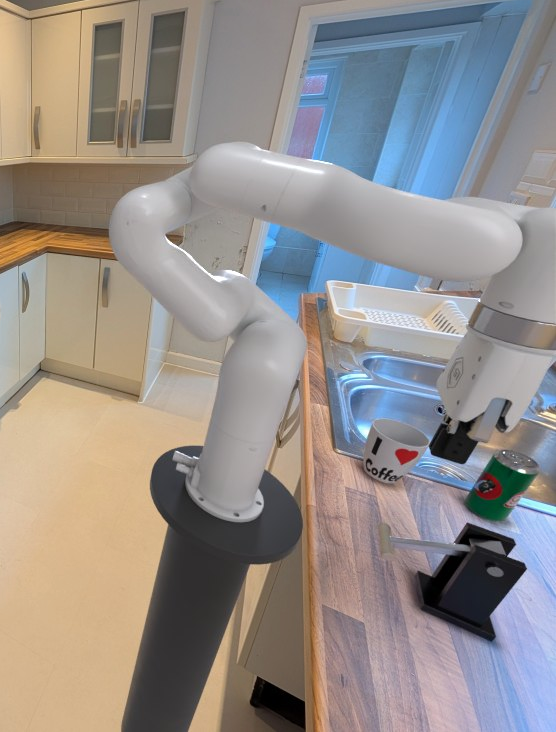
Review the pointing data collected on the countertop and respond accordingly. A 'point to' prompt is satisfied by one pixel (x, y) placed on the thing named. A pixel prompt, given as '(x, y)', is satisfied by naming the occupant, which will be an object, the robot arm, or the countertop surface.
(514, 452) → the soda can
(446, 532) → the countertop surface
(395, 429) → the cup
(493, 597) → the bracket
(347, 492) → the countertop surface
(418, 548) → the tap lever
